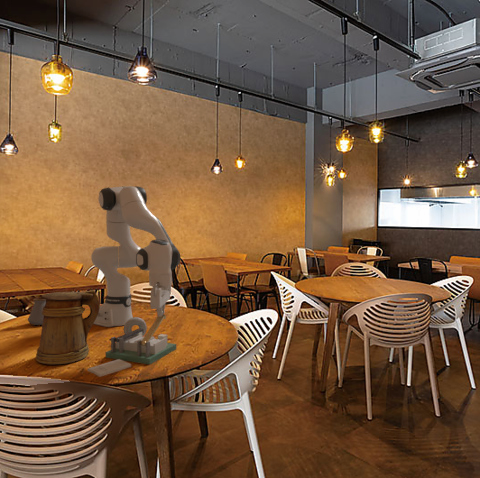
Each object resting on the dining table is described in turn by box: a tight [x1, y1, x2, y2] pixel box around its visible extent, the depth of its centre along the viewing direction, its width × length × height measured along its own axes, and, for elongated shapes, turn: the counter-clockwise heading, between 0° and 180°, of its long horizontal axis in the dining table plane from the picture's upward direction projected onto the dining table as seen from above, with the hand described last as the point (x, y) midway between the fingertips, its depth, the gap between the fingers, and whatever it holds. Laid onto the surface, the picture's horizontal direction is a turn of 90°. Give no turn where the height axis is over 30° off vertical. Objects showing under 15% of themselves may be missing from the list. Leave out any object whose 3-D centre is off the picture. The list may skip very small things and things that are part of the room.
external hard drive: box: [87, 359, 132, 378], centre depth 146 cm, size 2×8×12 cm
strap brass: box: [140, 313, 167, 346], centre depth 158 cm, size 2×16×2 cm
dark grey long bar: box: [114, 328, 144, 342], centre depth 164 cm, size 2×16×2 cm, turn 158°
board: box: [105, 332, 177, 365], centre depth 162 cm, size 20×19×8 cm
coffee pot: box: [27, 291, 73, 326], centre depth 208 cm, size 21×12×15 cm, turn 126°
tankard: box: [35, 289, 101, 365], centre depth 158 cm, size 18×24×25 cm
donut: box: [123, 316, 148, 337], centre depth 179 cm, size 10×3×10 cm, turn 115°
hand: (160, 315), depth 163 cm, fingers closed
